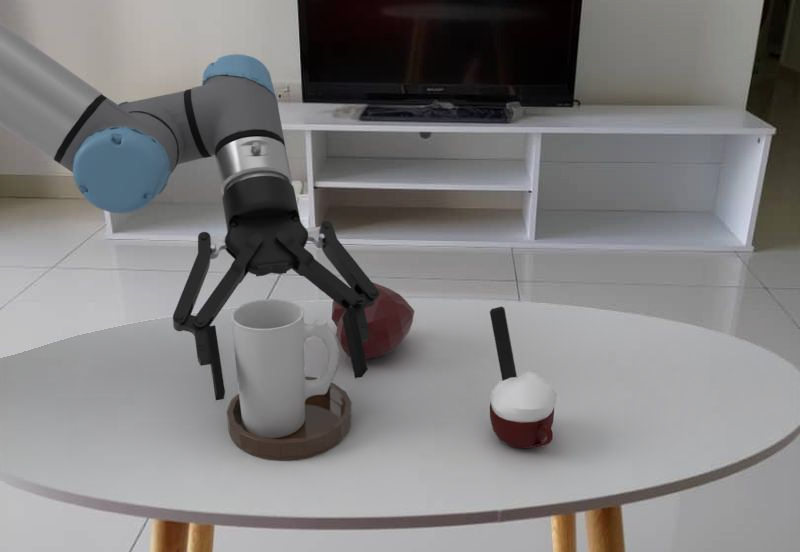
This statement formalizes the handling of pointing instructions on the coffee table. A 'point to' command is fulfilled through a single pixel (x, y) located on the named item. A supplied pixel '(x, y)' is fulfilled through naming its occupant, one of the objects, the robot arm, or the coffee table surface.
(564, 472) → the coffee table surface
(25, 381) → the coffee table surface
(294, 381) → the mug
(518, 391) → the cocoa
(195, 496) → the coffee table surface
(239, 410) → the tray
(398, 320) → the heart
